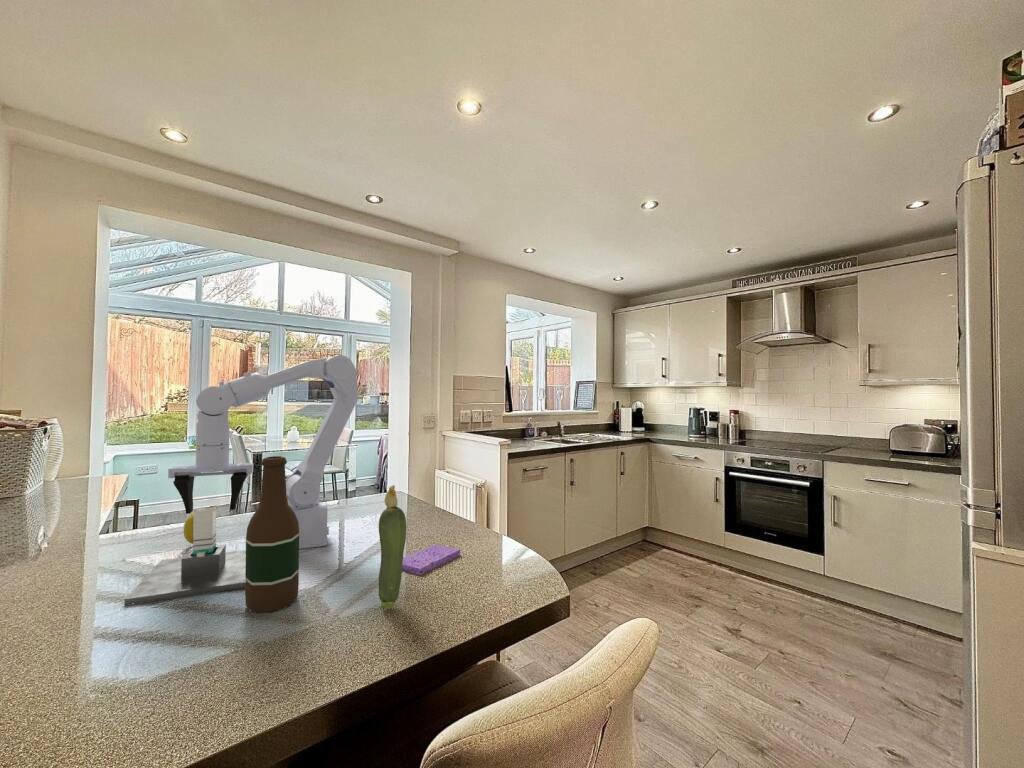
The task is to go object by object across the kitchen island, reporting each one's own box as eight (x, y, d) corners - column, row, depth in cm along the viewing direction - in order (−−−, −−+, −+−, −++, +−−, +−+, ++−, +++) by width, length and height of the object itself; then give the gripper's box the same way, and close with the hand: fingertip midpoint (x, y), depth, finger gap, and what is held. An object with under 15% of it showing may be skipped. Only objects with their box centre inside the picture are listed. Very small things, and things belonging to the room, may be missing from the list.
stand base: (264, 552, 96) (264, 528, 96) (251, 586, 79) (252, 558, 79) (161, 564, 89) (162, 539, 89) (124, 605, 72) (125, 573, 72)
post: (216, 549, 86) (216, 507, 86) (212, 554, 83) (213, 511, 83) (196, 551, 85) (197, 509, 85) (192, 556, 82) (193, 513, 82)
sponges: (393, 570, 88) (393, 560, 88) (435, 551, 99) (435, 542, 99) (419, 578, 84) (419, 568, 84) (460, 557, 95) (460, 548, 95)
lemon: (219, 542, 102) (220, 507, 102) (200, 551, 96) (200, 514, 96) (197, 541, 102) (197, 506, 103) (176, 550, 97) (177, 513, 97)
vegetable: (381, 601, 74) (382, 481, 74) (407, 600, 74) (408, 480, 75) (375, 614, 70) (376, 486, 70) (403, 613, 70) (404, 486, 70)
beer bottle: (308, 596, 76) (310, 455, 76) (270, 618, 68) (272, 462, 69) (273, 589, 78) (275, 453, 79) (233, 609, 71) (235, 459, 71)
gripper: (163, 448, 85) (162, 519, 85) (250, 445, 91) (249, 511, 91) (174, 444, 92) (173, 510, 92) (255, 441, 98) (254, 503, 97)
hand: (211, 510), depth 92 cm, fingers open, 7 cm apart
